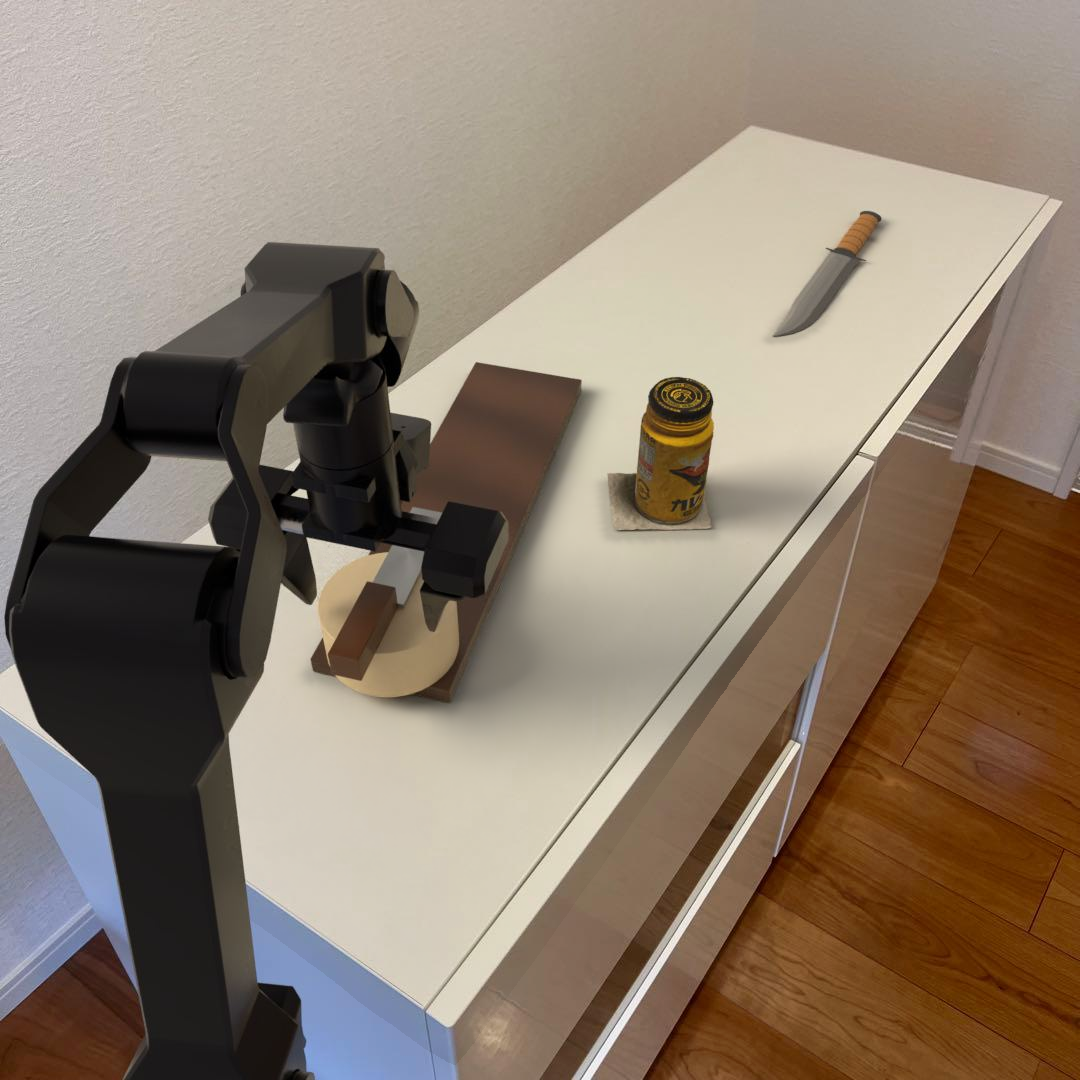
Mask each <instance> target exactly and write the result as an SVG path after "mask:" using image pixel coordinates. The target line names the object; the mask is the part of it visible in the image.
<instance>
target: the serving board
mask: <svg viewBox="0 0 1080 1080" xmlns="http://www.w3.org/2000/svg"><path fill="white" fill-rule="evenodd" d="M582 382H583V381H582V379H579V378H573V377H568V376H561V375H556V374H550V373H543V372H539V371H538V372H537V371H533V370H526V369H520V368H515V367H508V366H501V365H496V364H489V363H484V362H479V361H475V363H474V365H473V366H472V368H471V370H470V371H469V373H468V374H467V377H466V379H465V380H464V382H463V384H462V386H461V388H460V389H459V391H458V393H457V395H456V397H455V399H454V400H453V402H452V404H451V406H450V408H449V410H448V411H447V413H446V414H445V416H444V418H443V420H442V422H441V424H440V426H439V427H438V429H437V431H436V432H435V435H434V436H433V438H432V440H431V441H430V455H429V466H428V468H427V469H423V470H422V471H421V472H420V473H419V474H417V475H416V476H415V479H416V489H417V491H416V493H415V495H414V497H413V498H412V500H411V502H406V501H403V503H402V504H401V508H402V511H404V512H409V513H410V511H411V509H412V507H416V508H421V509H426V510H431V511H436V512H442V513H443V511H444V509H445V507H446V505H447V503H448V501H450V502H455V503H460V504H465V505H471V506H476V507H481V508H486V509H491V510H496V511H501V512H503V514H504V516H505V517H506V519H507V521H508V537H509V540H508V542H507V544H506V547H505V549H504V551H503V554H502V556H501V558H500V561H499V563H498V565H497V568H496V570H495V572H494V575H493V577H492V579H491V582H490V584H489V586H488V589H487V591H486V593H485V594H484V595H482V596H479V597H477V598H474V599H473V598H469V597H466V599H465V600H463V601H460V602H457V615H458V629H459V649H458V653H457V656H456V659H455V661H454V663H453V665H452V666H451V667H450V669H449V670H448V671H447V672H446V674H445V675H444V676H443V677H442V678H440V679H439V680H438V681H437V682H435V683H434V684H432V685H431V686H429V687H427V688H425V689H423V690H421V691H418V692H415V693H413V694H412V695H413V696H417V697H421V698H426V699H430V700H434V701H438V702H439V701H440V702H442V703H447V704H450V703H451V702H452V700H453V697H454V695H455V692H456V690H457V688H458V685H459V683H460V681H461V678H462V676H463V673H464V671H465V669H466V666H467V664H468V662H469V659H470V657H471V655H472V652H473V650H474V647H475V646H476V643H477V640H478V638H479V636H480V633H481V631H482V629H483V626H484V623H485V622H486V619H487V617H488V614H489V612H490V610H491V607H492V604H493V602H494V601H495V597H496V595H497V594H498V590H499V588H500V586H501V583H502V581H503V578H504V576H505V574H506V572H507V569H508V568H509V567H508V566H509V564H510V561H511V560H512V557H513V555H514V552H515V550H516V549H517V545H518V543H519V540H520V538H521V535H522V534H523V532H524V529H525V526H526V524H527V522H528V520H529V517H530V515H531V512H532V509H533V507H534V505H535V502H536V500H537V498H538V496H539V493H540V491H541V488H542V486H543V483H544V481H545V479H546V477H547V474H548V471H549V469H550V467H551V465H552V462H553V460H554V458H555V455H556V453H557V451H558V448H559V445H560V443H561V441H562V438H563V436H564V434H565V431H566V429H567V428H568V424H569V422H570V420H571V417H572V414H573V412H574V410H575V408H576V405H577V403H578V400H579V398H580V396H581V393H582ZM391 547H392V545H389V544H385V543H380V544H379V546H378V548H377V550H376V552H375V551H370V550H369V553H368V555H373V554H377V553H385V552H389V550H390V548H391ZM310 664H311V669H312V672H313V673H318V674H323V675H326V676H331V677H335V678H337V677H336V676H335V675H332V673H331V668H330V665H329V663H328V659H327V654H326V650H325V645H324V640H323V636H322V637H321V639H320V641H319V643H318V645H317V646H316V647H315V650H314V652H313V653H312V656H311V657H310Z"/></svg>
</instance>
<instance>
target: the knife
mask: <svg viewBox="0 0 1080 1080" xmlns="http://www.w3.org/2000/svg"><path fill="white" fill-rule="evenodd" d="M879 222H882V216H881V215H880V214H879V213H878V212H875V211H871V210H863V211H860V212H859V216H858V218H857V219H856V220H855V221H854V222H853V223H852V225H851V226H850V228H849V229H848V230H847V232H846V233H845V234H844V235H843V237H842V238H841V240H840V241H839V243H838V244H837V247H834V249H833V248H830V247H825V249H826V250H828V251H829V253H828V254H827V256H826V257H825V259H824V260H823V261H822V263H821V264H820V265H819V266H818V268H817V269H816V271H815V272H814V273H813V275H812V276H811V278H810V279H809V280H808V282H807V283H806V284H805V285H804V287H803V289H802V290H801V291H800V292H799V294H798V295H797V296H796V298H795V299H794V301H793V303H792V305H791V307H790V309H789V311H788V313H787V314H786V316H785V317H784V318H783V320H782V322H781V323H780V325H779V326H778V327H777V329H776V330H775V332H774V333H773V335H772V337H781V336H786V335H791V334H795V333H798V332H800V331H803V330H804V329H806V328H808V327H809V326H812V324H813V323H814V322H815V321H816V320H818V318H819V317H820V316H821V314H822V313H823V312H824V311H825V309H826V308H827V306H828V305H829V304H830V303H831V301H832V299H833V298H834V297H835V295H836V293H837V292H838V291H839V289H840V288H841V286H842V285H843V284H844V282H845V280H846V279H847V278H848V276H849V275H850V274H851V272H852V270H853V269H854V267H856V266H857V265H858V264H859V263H860V261H861V262H862V261H863V262H867V260H866V259H864V258H861V257H858V256H856V254H857V253H858V252H859V250H860V249H861V247H862V246H863V245H864V244H865V242H866V241H867V239H868V238H869V236H870V235H871V233H872V232H873V230H874V229H875V227H876V226H877V224H878V223H879Z"/></svg>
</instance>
